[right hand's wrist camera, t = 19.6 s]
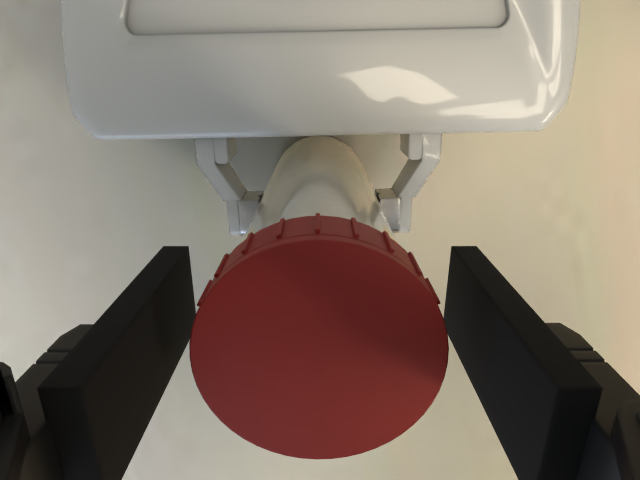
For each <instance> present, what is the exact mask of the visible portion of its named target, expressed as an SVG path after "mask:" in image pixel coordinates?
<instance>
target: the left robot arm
mask: <svg viewBox="0 0 640 480" xmlns="http://www.w3.org/2000/svg"><path fill="white" fill-rule="evenodd" d="M579 17H580V0H61V20H62V40H63V52H64V63H65V72H66V80H67V87H68V94H69V100H70V105H71V110H72V113H73V115H74V117H75V118H76V119H77V121H78V122H79V123H80V124H81V125H82V126H83V127H84V128H85V129H86V130H87V131H88V132H89V133H90V134H91V135H92V136H93V137H94V138H96V139H98V140H137V139H187V138H194V141H195V150H196V158H197V165H198V166H199V168H200V169H201V170H202V172H203V173H204V175H205V176H206V177H207V179H208V180H209V181H210V183H211V184H212V186H213V187H214V188H215V190H216V191H217V192H218V194H219V195H220V196H221V198H222V199H223V201H227V210H228V220H229V231H230V234H231V235H236V236H242V235H245V233H246V231H247V229H248V226H249V224H250V222H251V220H252V218H253V216H254V213H255V211H256V209H257V207H258V205H259V202H260V200H261V198H262V196H263V191H247V190H246V188H245V187H244V185H243V184H242V182H241V181H240V179H239V178H238V176H237V175H236V173H235V171H234V170H233V168H232V167H231V165H230V164H229V162H228V161H229V160H230V159H231V158H232V157H233V156H234V155H235V154H236V153H237V149H236V138H237V137H287V136H337V135H388V134H401V144H400V150H401V151H402V152H403V153H404V154H405V155H406V156H407V157H408V158H409V159H408V161H407V163H406V164H405V166H404V168H403V169H402V171H401V173H400V174H399V176H398V178H397V179H396V181H395V183H394V184H393V186H392V188H389V189H375V194H376V196H377V198H378V200H379V203H380V205H381V207H382V209H383V211H384V214H385V216H386V218H387V220H388V223H389V225H390V227H391V229H392V231H393V233H400V232H409V230H410V224H411V206H412V197H415V196H416V195H417V193H418V192H419V190H420V189H421V187H422V186H423V184H424V183H425V181H426V180H427V178H428V177H429V175H430V174H431V173H432V171H433V170H434V168H435V167H436V165H437V164H438V162H439V161H440V151H441V139H442V133H488V132H535V131H542V130H544V129H545V128H546V127H547V126H548V125H549V124H550V123H551V122H552V121H553V120H554V119H555V118H556V116H557V115H558V114H559V113H560V112H561V111H562V109H563V108H564V107H565V105H566V103H567V101H568V97H569V94H570V90H571V84H572V78H573V72H574V65H575V58H576V50H577V40H578V29H579Z"/></svg>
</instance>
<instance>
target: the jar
mask: <svg viewBox="0 0 640 480" xmlns="http://www.w3.org/2000/svg"><path fill="white" fill-rule="evenodd" d="M316 213H320V216H321V215H323V216H334V217H341V218H346V219H351V217H353V218H356V221H358V222H360V223H363V224H366V225H369V226H371V227H373V228H375V229H377V230H379V231H381V232H383V231H386V232H388V235H389V237H390V238H391V239H393V240H394V241H395V242H397V240H396V238H395V236H394V234H393V231H392V229H391V227H390V225H389V223H388V220H387V218H386V216H385V214H384V211H383V209H382V207H381V205H380V203H379V200H378V198H377V196H376V194H375V192H374V189H373V187H372V185H371V183H370V180H369V178H368V176H367V174H366V172H365V169H364V167H363V165H362V163H361V161H360V159H359V157H358V156H357V154H356V153H355V152H354V151H353V149H352V148H351V147H349V146H348V145H347V144H345V143H344V142H342V141H340V140H338V139H336V138H333V137H329V136H310V137H307V138H304V139H301V140H299V141H297V142H295V143H294V144H292V145H291V146H290V147H289V148H288V149H287V150H286V151H285V152H284V153H283V154H282V156H281V157H280V159H279V161H278V163H277V165H276V168H275V170H274V172H273V174H272V176H271V178H270V181H269V183H268V185H267V187H266V189H265V192H264V194H263V196H262V198H261V200H260V202H259V205H258V207H257V209H256V211H255V213H254V216H253V218H252V220H251V222H250V224H249V226H248V229H247V231H246V233H245V235H244V237H243V239H242V242H243V241H244V240H246V239H247V237H248V234H249V233H251V232H253V234H254V233H256V232H258V231H259V230H261V229H263V228H266V227H268V226H270V225H272V224H275V223H278V222H280V219H282V218H285V220H288V219H291V218H297V217H304V216H316ZM242 242H241V243H242Z"/></svg>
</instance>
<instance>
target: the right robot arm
mask: <svg viewBox="0 0 640 480" xmlns="http://www.w3.org/2000/svg"><path fill="white" fill-rule="evenodd" d="M195 316H196V311H195V302H194V292H193V283H192V274H191V265H190V256H189V247H188V246H163V247H162V249H161V250H160V251H159V252H158V253H157V254H156V255H155V256H154V258H153V259H152V260H151V261H150V262H149V263H148V264H147V265H146V267H145V268H144V269H143V270H142V271H141V272H140V273H139V274H138V276H137V277H136V278H135V279H134V280H133V281H132V282H131V283H130V284H129V286H128V287H127V288H126V289H125V290H124V291H123V292H122V293H121V295H120V296H119V297H118V298H117V299H116V300H115V301H114V302H113V304H112V305H111V306H110V307H109V308H108V309H107V310H106V311H105V313H104V314H103V315H102V316H101V317H100V318H99V319H98V320H97V321H96V323H95V324H80V325H79V326H77V327H75V328H74V329H72V330H70V331H68V332H67V333H65V334H63V335H62V336H60V337H59V338H58V339H57V340H56V341H55V342H54V343H53V344H52V345H51V346H50V347H49V348H48V349H47V352H45V353H44V354H43V355H42V356H41V357H40V358H39V359H38V360H37V361H36V364H33V365H32V366H31V367H30V368H29V369H28V370H27V371H26V372H25V373H24V374H23V375H22V376H21V377H20V378H19V379H18V380H17V381H16V382H15V381H14V378H13V374H12V371H11V367H9V366H8V365H6V364H5V363H3V362H0V480H121V479H122V477H123V475H124V473H125V471H126V469H127V467H128V465H129V463H130V461H131V459H132V457H133V455H134V453H135V451H136V449H137V447H138V444H139V442H140V440H141V438H142V436H143V434H144V432H145V430H146V428H147V426H148V424H149V422H150V420H151V418H152V416H153V414H154V412H155V409H156V407H157V405H158V403H159V401H160V399H161V397H162V395H163V393H164V391H165V389H166V387H167V385H168V383H169V381H170V379H171V377H172V375H173V372H174V370H175V368H176V366H177V364H178V362H179V360H180V358H181V356H182V354H183V352H184V350H185V348H186V346H187V344H188V342H189V340H190V336H191V330H192V326H193V322H194V319H195ZM444 322H445V326H446V330H447V333H448V335H449V337H450V340H451V342H452V344H453V346H454V348H455V350H456V352H457V354H458V356H459V358H460V360H461V362H462V364H463V366H464V368H465V370H466V372H467V375H468V377H469V379H470V381H471V383H472V385H473V387H474V389H475V391H476V393H477V395H478V397H479V399H480V401H481V403H482V405H483V407H484V410H485V412H486V414H487V416H488V418H489V420H490V422H491V424H492V426H493V428H494V430H495V432H496V434H497V436H498V438H499V440H500V442H501V444H502V447H503V449H504V451H505V453H506V455H507V457H508V459H509V461H510V463H511V465H512V467H513V469H514V471H515V473H516V475H517V477H518V479H519V480H640V395H639V394H638V393H637V392H636V391H635V390H634V389H633V388H632V387H631V386H630V385H629V384H628V383H627V382H626V381H625V380H624V379H623V378H622V377H621V376H620V375H619V374H618V373H617V372H616V371H615V370H614V369H613V368H612V367H611V366H610V365H609V364H608V363H607V362H604V359H603V358H602V357H601V356H600V355H599V354H598V353H597V352H596V351H593V348H592V347H591V345H590V344H589V343H588V342H587V341H586V340H585V339H584V338H583V337H582V336H581V335H580V334H578V333H576V332H574V331H573V330H571V329H569V328H568V327H566V326H564V325H562V324H561V323H544V321H543V320H542V319H541V318H540V317H539V316H538V315H537V314H536V313H535V311H534V310H533V309H532V308H531V307H530V306H529V305H528V304H527V302H526V301H525V300H524V299H523V298H522V297H521V296H520V295H519V293H518V292H517V291H516V290H515V289H514V288H513V287H512V286H511V284H510V283H509V282H508V281H507V280H506V279H505V278H504V277H503V276H502V274H501V273H500V272H499V271H498V270H497V269H496V268H495V267H494V265H493V264H492V263H491V262H490V261H489V260H488V259H487V258H486V256H485V255H484V254H483V253H482V252H481V251H480V250H479V249H478V247H477V246H452V247H451V256H450V265H449V274H448V283H447V292H446V302H445V311H444Z"/></svg>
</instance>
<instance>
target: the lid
mask: <svg viewBox="0 0 640 480" xmlns="http://www.w3.org/2000/svg"><path fill="white" fill-rule="evenodd" d="M438 304H440V301H439V299H438V297H437V295H436V293H435V291H434V289H433V287H432V285H431V283H430V281H429V280H428V278H426V279H425V278H424V276H423V274H422V272H421V270H420V268H419V266H418V264H417V262H416V260H415V258H414V256H413V254H412V253H411V252H409V253H407V252H406V251H405V250H404V249H403V248H402V247H401V246H400V245H399V244H398V243H397V242H395V241H394V240H393V239H391V238H390V237H389V235H388V232H386V231H383V232H381V231H379V230H377V229H375V228H373V227H371V226H369V225H366V224H363V223H360V222H358V221H356V218H353V217H351V219H346V218H341V217H334V216H323V215H321V216H320V213H316V216H304V217H297V218H291V219H288V220H285V218H282V219H280V222H278V223H275V224H272V225H270V226H268V227H266V228H263V229H261V230H259V231H258V232H256V233H254V234H253V232H251V233H249V234H248V237H247V239H246V240H244V241H243V242H242V243H241V244H239V245H238V246H237V247H236V248H235V249H234V250H233V251H232V252H231V253H230V254H229V255H228V254H227V253H226V254H225V256H224V257H223V259H222V261H221V263H220V265H219V267H218V269H217V271H216V273H215V275H214V279H213V281H212V280H209V282H208V284H207V286H206V288H205V290H204V292H203V294H202V296H201V297H200V299H199V301H198V304H197V306H200V307H199V309H198V311H197V313H196V316H195V319H194V322H193V326H192V330H191V336H190V362H191V368H192V373H193V376H194V379H195V382H196V385H197V387H198V389H199V391H200V393H201V395H202V397H203V399H204V400H205V402H206V403H207V405H208V406H209V408H210V409H211V411H212V412H213V413H214V414H215V415H216V416H217V417H218V418H219V420H220V421H221V422H222V423H224V424H225V425H226V426H227V427H228V428H229V429H231V430H232V431H233V432H235V433H236V434H237V435H239V436H240V437H242V438H243V439H245V440H247V441H249V442H251V443H253V444H254V445H256V446H259V447H261V448H264V449H266V450H269V451H271V452H275V453H278V454H282V455H285V456H291V457H297V458H305V459H334V458H341V457H348V456H352V455H356V454H360V453H364V452H366V451H369V450H372V449H375V448H377V447H379V446H382V445H384V444H386V443H388V442H390V441H391V440H393V439H395V438H396V437H398V436H399V435H401V434H402V433H404V432H405V431H406V430H408V429H409V428H410V427H411V426H413V425H414V424H415V423H416V422H417V421H418V420H419V419H420V418H421V417H422V416H423V415H424V413H425V412H426V411H427V409H428V408H429V407H430V405H431V404H432V403H433V401H434V399H435V397H436V395H437V394H438V392H439V390H440V387H441V385H442V382H443V380H444V377H445V372H446V368H447V364H448V352H449V346H448V334H447V330H446V326H445V322H444V318H443V316H442V314H441V311H440V309H439V306H438Z"/></svg>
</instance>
